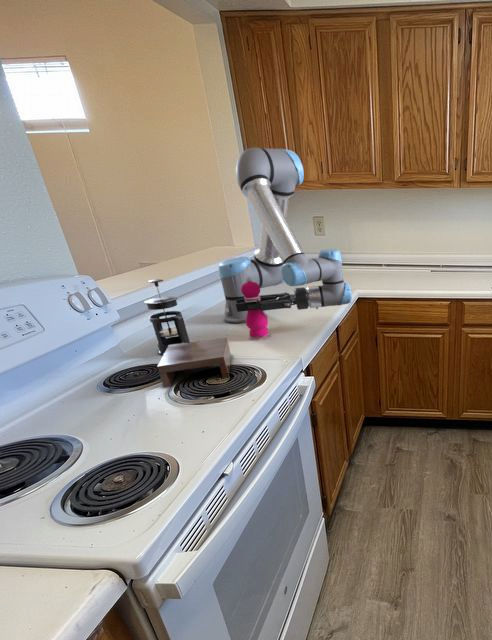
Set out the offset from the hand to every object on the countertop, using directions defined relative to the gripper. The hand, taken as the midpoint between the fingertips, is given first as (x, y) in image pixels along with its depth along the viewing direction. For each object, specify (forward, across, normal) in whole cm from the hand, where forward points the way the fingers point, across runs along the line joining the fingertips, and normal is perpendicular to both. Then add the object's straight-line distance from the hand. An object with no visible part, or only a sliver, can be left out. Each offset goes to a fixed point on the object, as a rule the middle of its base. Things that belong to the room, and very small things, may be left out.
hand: (236, 305), depth 140 cm
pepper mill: (-5, 0, -11) cm, 12 cm away
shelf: (+12, -24, -12) cm, 29 cm away
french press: (+21, -2, -12) cm, 24 cm away
